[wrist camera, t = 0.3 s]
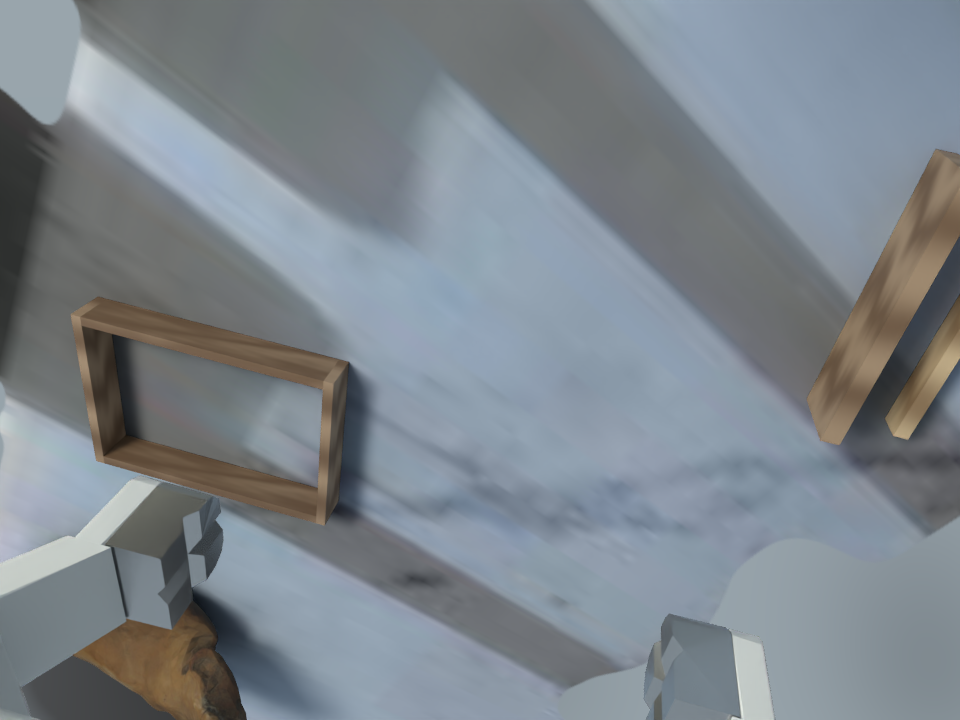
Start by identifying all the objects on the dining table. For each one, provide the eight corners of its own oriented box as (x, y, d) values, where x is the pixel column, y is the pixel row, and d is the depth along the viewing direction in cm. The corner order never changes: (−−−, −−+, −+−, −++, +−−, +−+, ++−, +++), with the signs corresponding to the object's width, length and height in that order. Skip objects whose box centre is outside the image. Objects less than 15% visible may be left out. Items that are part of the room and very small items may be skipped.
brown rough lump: (300, 640, 95) (246, 747, 83) (245, 691, 105) (190, 794, 92) (56, 486, 89) (-41, 576, 77) (22, 555, 99) (-70, 646, 86)
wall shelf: (935, 149, 49) (967, 173, 44) (1052, 174, 49) (1098, 201, 44) (806, 398, 61) (820, 440, 56) (899, 422, 61) (921, 466, 56)
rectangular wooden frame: (97, 296, 72) (70, 314, 69) (348, 362, 70) (333, 383, 66) (118, 439, 82) (96, 460, 79) (338, 500, 80) (324, 525, 76)
